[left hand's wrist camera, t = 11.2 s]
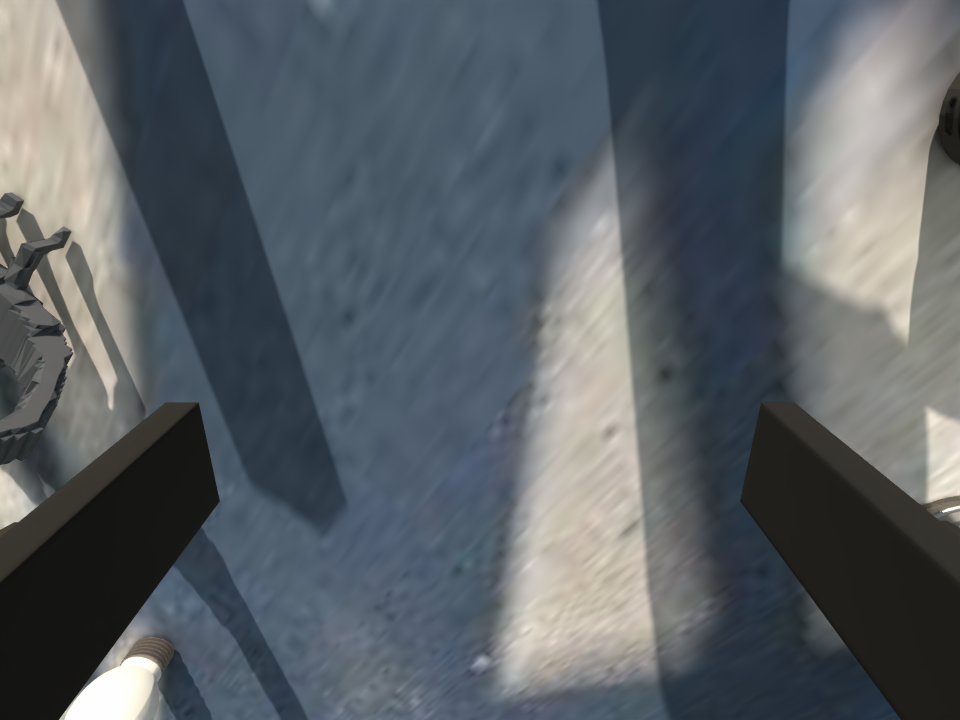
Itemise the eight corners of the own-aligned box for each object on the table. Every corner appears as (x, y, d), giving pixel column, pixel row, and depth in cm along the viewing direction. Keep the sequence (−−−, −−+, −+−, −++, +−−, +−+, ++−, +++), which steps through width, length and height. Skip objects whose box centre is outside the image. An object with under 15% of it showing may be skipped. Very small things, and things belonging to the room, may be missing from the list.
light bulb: (162, 617, 52) (85, 731, 42) (201, 663, 55) (137, 782, 44) (105, 637, 53) (16, 753, 43) (146, 682, 56) (70, 802, 45)
